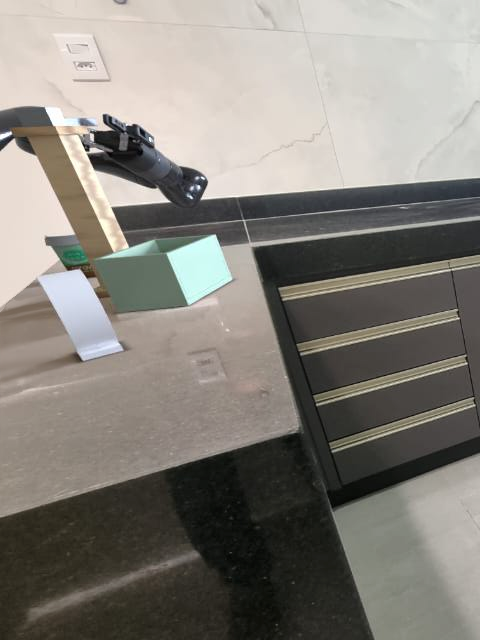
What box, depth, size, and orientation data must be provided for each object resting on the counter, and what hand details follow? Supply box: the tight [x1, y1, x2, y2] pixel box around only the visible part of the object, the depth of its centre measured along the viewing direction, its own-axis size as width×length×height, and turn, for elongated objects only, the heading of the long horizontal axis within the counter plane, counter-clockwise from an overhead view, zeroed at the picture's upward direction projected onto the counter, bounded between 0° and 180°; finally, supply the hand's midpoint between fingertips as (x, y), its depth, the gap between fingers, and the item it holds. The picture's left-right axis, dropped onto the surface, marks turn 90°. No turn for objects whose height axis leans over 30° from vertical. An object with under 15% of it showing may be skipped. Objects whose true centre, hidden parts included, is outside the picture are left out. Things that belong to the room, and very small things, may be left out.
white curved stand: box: [35, 269, 124, 362], centre depth 77 cm, size 5×6×12 cm
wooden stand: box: [10, 126, 130, 299], centre depth 106 cm, size 9×9×32 cm
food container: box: [44, 234, 96, 279], centre depth 124 cm, size 12×6×10 cm, turn 122°
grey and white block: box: [13, 106, 99, 127], centre depth 103 cm, size 14×5×3 cm, turn 13°
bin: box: [92, 233, 233, 314], centre depth 105 cm, size 19×12×10 cm, turn 13°
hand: (80, 119), depth 107 cm, fingers open, 8 cm apart
